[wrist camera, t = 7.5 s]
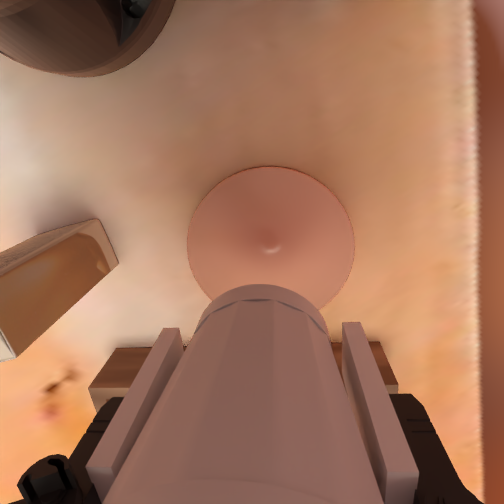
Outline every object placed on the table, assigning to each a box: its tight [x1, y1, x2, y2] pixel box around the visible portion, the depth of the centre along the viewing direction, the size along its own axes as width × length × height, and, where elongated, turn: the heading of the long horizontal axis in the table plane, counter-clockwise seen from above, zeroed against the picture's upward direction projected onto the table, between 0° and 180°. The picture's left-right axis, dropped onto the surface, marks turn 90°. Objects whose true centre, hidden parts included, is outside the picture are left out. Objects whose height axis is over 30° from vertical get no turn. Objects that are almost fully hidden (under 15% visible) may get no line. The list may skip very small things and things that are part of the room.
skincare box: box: [0, 219, 118, 362], centre depth 22 cm, size 6×4×12 cm
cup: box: [102, 284, 384, 504], centre depth 10 cm, size 8×8×12 cm
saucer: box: [187, 167, 355, 310], centre depth 26 cm, size 13×13×1 cm
